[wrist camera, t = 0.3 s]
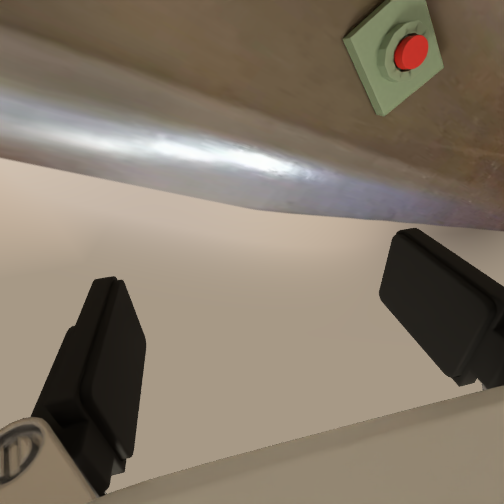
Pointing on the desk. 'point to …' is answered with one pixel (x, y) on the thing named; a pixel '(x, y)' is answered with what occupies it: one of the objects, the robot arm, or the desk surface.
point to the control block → (392, 52)
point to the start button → (411, 52)
